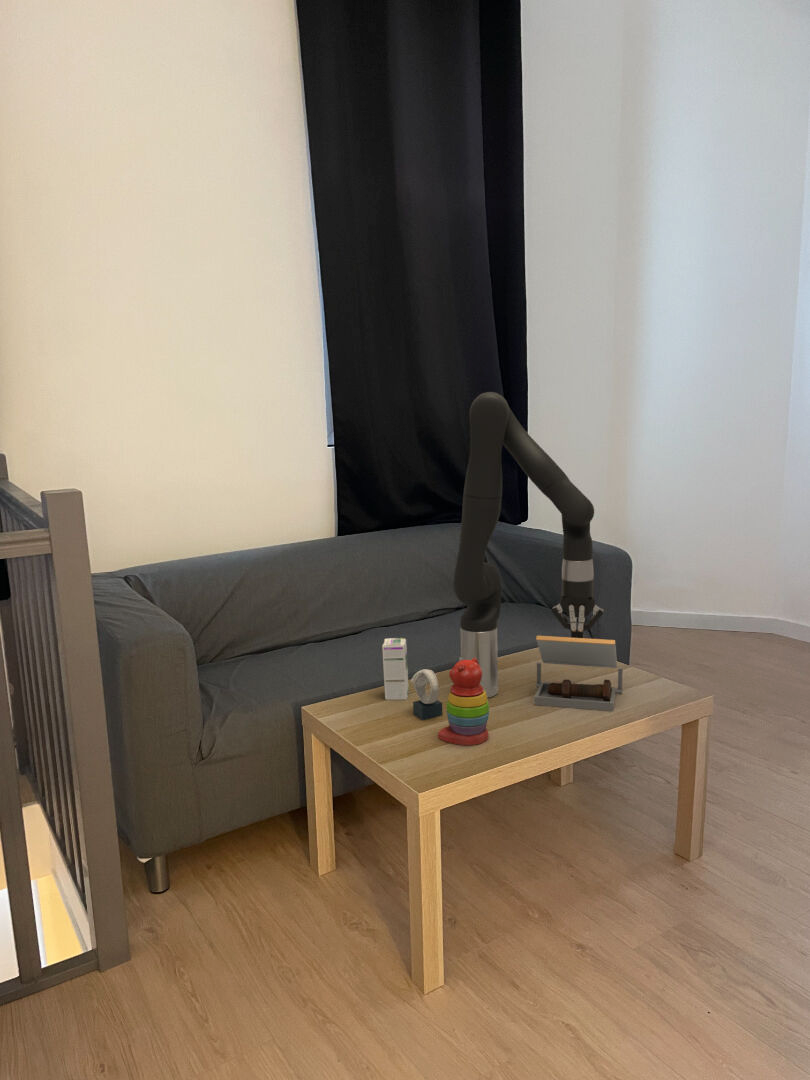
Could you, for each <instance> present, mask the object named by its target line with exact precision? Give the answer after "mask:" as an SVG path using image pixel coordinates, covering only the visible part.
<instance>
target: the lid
mask: <svg viewBox="0 0 810 1080" xmlns="http://www.w3.org/2000/svg"><path fill="white" fill-rule="evenodd" d="M535 639H536V643H537V646H538V649H539V654H540V658H541V661H542V662H541V663H543V664H550V665H551V664H552V665H566V666H578V667H579V666H580V667H592V668H593V667H594V668H610V669H616V668H617V667H618V659H617V648H616V647H617V646H616V640H615V639H601V638H585V637H584V638H571V636H569V637H567V636H554V635H553V636H552V635H551V636H550V635H548V636H547V635H536V638H535Z"/></svg>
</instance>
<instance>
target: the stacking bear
mask: <svg viewBox="0 0 810 1080" xmlns="http://www.w3.org/2000/svg"><path fill="white" fill-rule="evenodd" d="M448 674H449V677H450V681H451V682H452V683H453V685H452V686H451V687H450V689H449V690H450V691H449V692H448V699H447V702H446V715H447V720H448V726H445V727H443V728H441V729H440V730H439V731H438V734H437V737H438V739H439V740H440V741H443V742H447V743H450V744H455V745H461V746H474V745H479V744H482V743H484V742H486V741H487V740H489V736H490V734H489V731H488V729H487V726H488V725H487V724H488V720H489V715H490V706H489V705H490V704H489V700H488V698H487V695H486V692H485V690H484V689H483V687H482V686H481V685H480V681H481V678H482V670H481V667H480V666H479V665H478V660H477V659H476V658H473V659H472V660H461V661H459V660H458V661H457V662H456V663H455V664H454V666H453V667H452V668H451V669H450V670H449V673H448Z"/></svg>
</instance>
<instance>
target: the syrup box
mask: <svg viewBox="0 0 810 1080" xmlns="http://www.w3.org/2000/svg"><path fill="white" fill-rule="evenodd" d="M381 647H382V664H383V665H382V668H383V685H384V686H383V689H384V698H385V699H384V700H386V701H388V700H390V701H399V700H401V701H404V700H408V696H409V692H410V689H409V687H410V686H409V667H408V650H407V648H408V647H407V638H404V637H392V638H391V637H390V638H384V641H383V642H382V646H381Z"/></svg>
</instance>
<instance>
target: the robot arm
mask: <svg viewBox="0 0 810 1080" xmlns="http://www.w3.org/2000/svg"><path fill="white" fill-rule="evenodd" d="M470 405H471V406H470V407H469V411H468V413H469V429H470V448H469V449H470V450H469V459H468V462H467V468H466V474H465V478H464V479H465V480H464V486H463V487H464V488H463V496H462V497H463V498H462V508H461V509H462V514H461V526H460V534H459V535H460V536H459V545H458V553H457V558H456V564H455V568H454V574H453V581H452V582H453V591H454V594H455V596H456V598H457V599H458V600H459V601H460V603H462V604H465V605H467V607H466V609H465V611H464V612H463V613H462V614H461V616H460V619H459V620H460V621H459V622H460V623H459V625H460V627H459V628H460V630H459V631H460V656H459V658H458V662H459V661H461V660H472V659H473V658H476V659H477V660H478V665H479V666H480V667H481V670H482V678H481V681H480V685H481V686H482V687H483V689H484V690H485V692H486V695H487V699H488V698H491V697H494V696H496V695H497V694H498V693H499V679H498V678H499V671H498V670H499V667H498V666H499V665H498V662H499V661H498V621H499V618H500V614H501V604H502V602H501V601H502V581H501V577H500V574H499V571H498V569H497V568H496V567H495V566H494V565H493V564H492V563H490V562H485V557H486V552H487V551H486V550H487V548H488V545H489V542H490V541H491V537H492V536H493V534H494V531H495V529H496V527H497V525H498V522H499V518H500V515H501V512H502V511H501V509H502V501H503V500H502V498H503V497H502V496H503V468H502V467H503V466H502V451H503V446H504V448H506V450H507V451H508V452H509V453H510V455H511V456H512V457H513V458H514V460H515V461H516V462H517V464H518V465H519V467H520V468H521V470H522V471H523V472H524V474H525V475H526V476H527V477H528V479H529V480H531V482H532V483H533V484H534V485H535V486H536V488H537V489H539V491H540V492H541V493H542V494H543V495H544V496H545V497H547V499H548V500H549V501H551V503H552V504H553V506H554V507H556V509H557V510H558V511H559V513H560V514H561V525H562V533H563V536H562V537H563V539H562V540H563V541H562V565H561V598H560V601H559V603H558V604H557V605H554V606H553V607H552V608H551V613H552V614H553V615H554V616H555V619H557V620H558V622H559V623H560V625H561V626H562V627H563V628H564V629H565V630H566V629H568V630H569V631H570V632H571V633H570V634H571V636H570V638H585V637H584V632H585V631H588V630H590V629H591V628H592V627H593V626H594V625H596V622H597V621H598V620H599V619H600V618H602V616H603V614H604V609H603V608H602V607H599V606H598V605H597V604H596V600H595V599H594V598H595V597H594V576H595V573H594V572H595V571H594V561H593V539H592V536H591V522H592V520H593V518H594V516H595V508H594V507H595V506H594V504H593V503H592V502H591V500H590V499H589V498H588V497H587V496H586V495H585V494H584V493H583V492H582V491H581V490H580V489H579V488H578V487H577V486H576V485H575V484H573V483H574V482H572V481H571V480H570V478H569V477H568V476H567V474H566V473H565V472H564V471H563V469H562V468H561V467H560V466H559V465H558V464H557V463H556V461H554V460H553V459H552V457H551V456H550V455H549V454H548V453H547V452H546V451H545V450H544V449H543V448H542V447H541V446H540V445H539V444H538V443H537V442H536V441H535V439H533V438H532V437H531V436H530V434H529V433H528V432H527V431H526V430H525V428H524V427H523V426H522V424H521V423H520V422H519V420H518V419H517V417H516V416H515V414H514V413H513V411H512V409H511V408H510V406H509V403H508V401H507V399H506V398H505V397H504V396H503V395H501V394H499V393H498V392H494V391H487V392H482V393H480V394H479V395H477V397H476V398H474V400H473V401H472V403H471V404H470ZM563 611H564V613H565V614H566V615H567V616H568V617H569V620H568V619H567V617H566V616H565V615H564V613H563ZM591 612H592V616H591V618H590V619H589V620H588V621H587V622H585V620H586V617H587V616H588V615H589V614H590V613H591ZM577 619H578V622H577Z"/></svg>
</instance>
